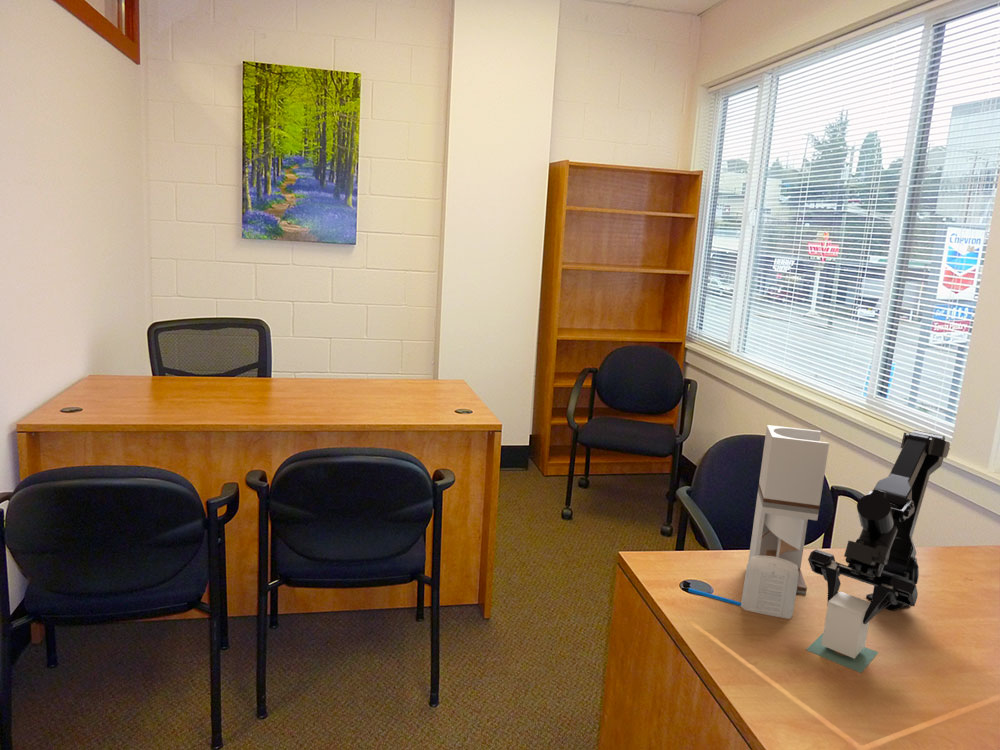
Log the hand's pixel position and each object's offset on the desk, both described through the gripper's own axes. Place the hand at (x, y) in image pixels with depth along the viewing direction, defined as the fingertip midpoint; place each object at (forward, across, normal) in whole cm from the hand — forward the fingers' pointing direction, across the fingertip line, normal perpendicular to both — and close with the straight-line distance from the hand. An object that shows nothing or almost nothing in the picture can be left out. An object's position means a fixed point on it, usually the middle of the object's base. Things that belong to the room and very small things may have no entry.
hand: (846, 616), depth 139 cm
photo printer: (+2, -17, +10) cm, 19 cm away
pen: (+4, -25, +9) cm, 27 cm away
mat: (+5, 0, +7) cm, 8 cm away
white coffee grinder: (-9, -21, +21) cm, 31 cm away
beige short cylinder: (+4, 0, +6) cm, 8 cm away
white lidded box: (+4, 0, +6) cm, 7 cm away
